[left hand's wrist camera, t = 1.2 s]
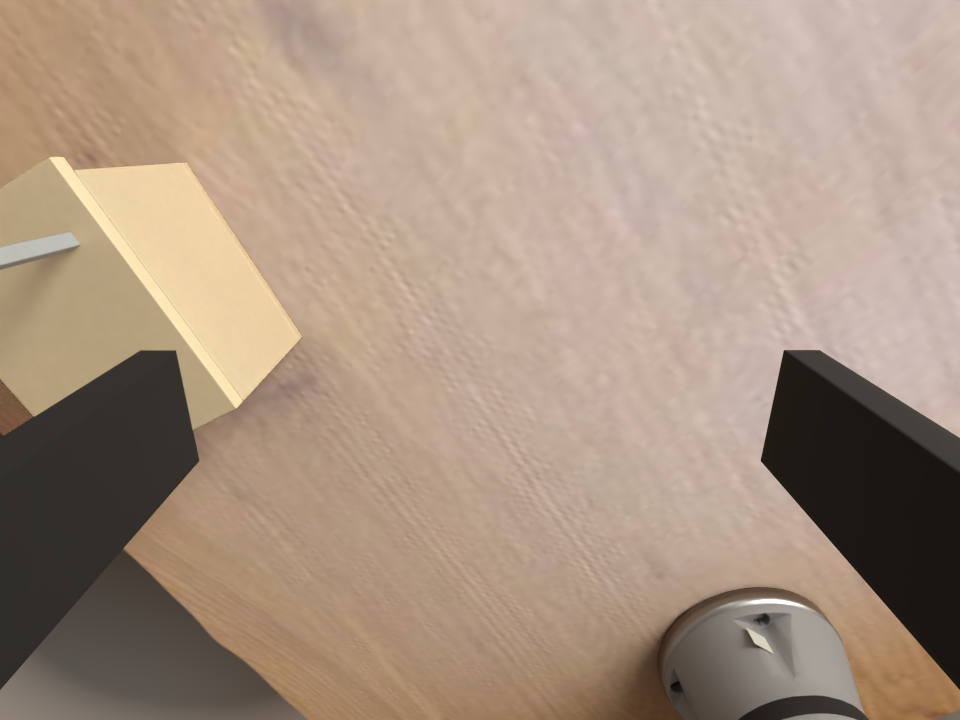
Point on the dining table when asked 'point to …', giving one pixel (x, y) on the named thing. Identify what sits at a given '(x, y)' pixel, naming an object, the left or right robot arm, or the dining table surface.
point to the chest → (197, 266)
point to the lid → (84, 299)
